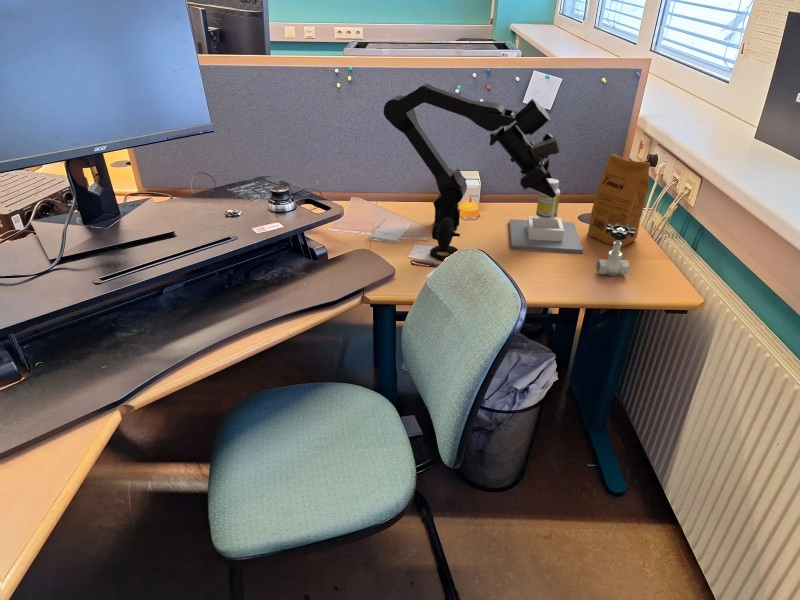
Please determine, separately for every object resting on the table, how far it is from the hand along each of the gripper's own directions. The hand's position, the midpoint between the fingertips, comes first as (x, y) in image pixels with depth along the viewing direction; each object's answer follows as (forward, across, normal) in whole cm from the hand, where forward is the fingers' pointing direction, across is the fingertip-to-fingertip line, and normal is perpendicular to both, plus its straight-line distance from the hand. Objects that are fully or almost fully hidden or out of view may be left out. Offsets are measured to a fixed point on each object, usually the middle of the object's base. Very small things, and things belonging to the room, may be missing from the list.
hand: (555, 192), depth 142 cm
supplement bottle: (+4, 0, +6) cm, 7 cm away
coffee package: (+21, +4, -3) cm, 21 cm away
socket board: (+8, 0, +10) cm, 13 cm away
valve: (+20, -18, -2) cm, 27 cm away
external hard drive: (-20, -9, +40) cm, 45 cm away
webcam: (-8, -18, +27) cm, 34 cm away
